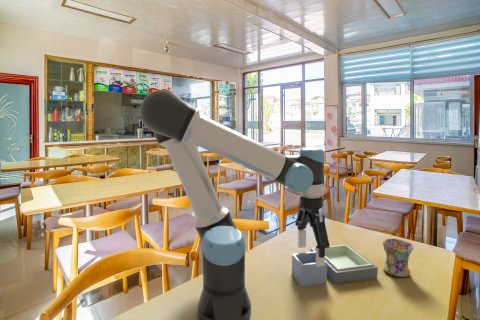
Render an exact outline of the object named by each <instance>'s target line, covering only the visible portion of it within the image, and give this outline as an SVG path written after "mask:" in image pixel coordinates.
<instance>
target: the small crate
mask: <svg viewBox="0 0 480 320" xmlns="http://www.w3.org/2000/svg"><path fill="white" fill-rule="evenodd" d="M291 275H292V276H293V278H295V280H296V282H297V283H298V285H299V286H300V287H308V286H314V285H321V284H322V285H323V284H326V283H327V277H328V275H327V262H326V261H325V266H319V267H316V251H315V252H311V251H307V252H298V253H292V255H291Z"/></svg>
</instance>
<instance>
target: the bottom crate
mask: <svg viewBox="0 0 480 320" xmlns="http://www.w3.org/2000/svg"><path fill="white" fill-rule="evenodd" d="M337 245H338V244H336V245H334V246H337ZM343 245H347V246H348V247H350V248H351V249H352V250H354V251H355V252H356V253H358V254H359V255H360V256H362V257H363V258H364V259H366V260H367V261H368V262H370V263H371V264H372V267H366V268H358V269H351V270H343V271H336V270H335V269H334V268H333V267H332V266H331V265H330V264H329V263H328V262H327V261H326V260H325V261H326V262H327V277H329V279H330V280H331V281H332V282H333V283H334V284H335V285H339V284H346V283H352V282H353V283H354V282H360V281H367V280H374V279H375V280H376V279H377V278H378V273H379V272H378V269H379V268H378V265H376V264H374V263H373V262H372V261H370V260H369V259H368V258H366V256H365V257H364V255H362V254H360V253H359V252H358V251H356V250H355V249H354V248H353V247H351V246H350V245H348V244H346V243H345V244H343ZM315 248H316V247H310V252H315V251H316V250H315Z"/></svg>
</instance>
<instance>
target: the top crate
mask: <svg viewBox="0 0 480 320" xmlns="http://www.w3.org/2000/svg"><path fill="white" fill-rule="evenodd" d="M336 245H337V246H335V245H329V246H330V247H329V248H325V260H326V261H327V262H328V263H329V264H330V265H331V266H332V267H333V268H334V269H335V270H336V271H343V270H351V269H358V268H366V267H372V264H371V263H372V262H371V261H370V262H371V263H370V262H368V261H367V260H368V259H367V258H366V259H367V260H366V259H364V258H363V257H364V256H363V255H362V256H363V257H362V256H360V255H359V254H360V253H359V252H358V253H359V254H358V253H356V252H355V251H356V250H355V249H354V250H355V251H354V250H352V249H351V248H352V247H351V246H350V247H351V248H350V247H348V246H347V245H348V244H347V245H344V244H336ZM314 248H315V250H316V247H314Z"/></svg>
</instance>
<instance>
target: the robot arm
mask: <svg viewBox="0 0 480 320" xmlns="http://www.w3.org/2000/svg"><path fill="white" fill-rule="evenodd" d="M139 113H140V119H141V121H142V123H143V125H144V126H145V127H146V128H147V129H148V130H150V131H151V132H153V135H154V137H155V139H156V141H157V144H158V145H159V146H162V147H164V148H165V150H166V151H167V154H168V156H169V158H170V161H171V162H172V164H173V168H174V170H175V172H176V174H177V176H178V178H179V181H180V183H181V185H182V187H183V190H184V192H185V195H186V197H187V199H188V201H189V203H190V206H191V209H192V210H193V212H194V215H195V217H196V219H195V221H194V224H193V225H194V226H195V229H196V231H197V234H198V236H199V238H200V239H199V240H200V241H201V252H202V253H201V254H202V255H201V256H202V284H203V285H202V286H203V287H202V290H201V293H200V297H199V300H198V303H197V317H198V318H197V319H198V320H250V318H251V315H252V303H251V299H250V297H249V294H248V291H247V288H246V285H245V284H246V276H245V275H246V272H245V271H246V264H245V263H246V262H245V261H246V241H245V237H244V234H243V233H242V231H241V230H239V229H238V227H237V225H236V223H235V221H234V220H233V218H232V215H231V213H230V210H229V209H228V208H227V207H225V206H223V205H222V204H221V202H220V199H219V196H218V194H217V192H216V189H215V187H214V185H213V182H212V181H211V177H210V175H209V173H208V171H207V168H206V166H205V163H204V161H203V158H202V156H201V153H200V152H199V149H198V147H200V148H201V149H204V150H206V151H208V152H211V153H213V154H215V155H218V156H219V157H222V158H223V159H225V160H228V161H230V162H233V163H234V164H237V165H239V166H240V167H243V168H246V169H248V170H249V171H252V172H254V173H256V174H258V175H260V176H263V177H264V179H265V180H267V181H274V182H275V183H277V184H280V185H281V186H283V187H284V186H285V187H286V188H287V189H288V190H290V191H292V192H295V193H299V194H300V195H299V205H298V213H297V215H296V220H295V223H294V225H295V226H297V227H296V228H297V235H298V236H297V237H298V238H297V240H298V241H297V244H298V245H297V248H298V249H301V248H307V225H308V224H309V227H310V228H311V229H312V232H313V235H314V239H315V242H316V246H315V248H316V267H319V266H325V248H329V247H330V246H331V245H330V241H329V236H328V232H327V227H326V217H325V214H322V215H321V214H320V211H319V210H320V209H322V208H323V206H324V196H323V195H324V187H325V185H324V172H325V170H324V169H325V155H324V150H323V149H322V148H319V147H304V148H301V149H300V150H299V153H298V154H296V155H285V154H282V153H280V152H278V151H276V150H274V149H272V148H271V147H268V146H266V145H264V144H262V143H260V142H258V141H255V140H254V139H252V138H249V136H248V137H247V136H246V135H243V134H241V133H240V132H237V131H235V130H234V129H231V128H229V127H227V126H225V125H223V124H221V123H219V122H216V121H214V120H213V119H210V118H209V117H206V116H204V115H202V114H201V113H200V110H199V109H198V108H197V107H195V106H193V105H192V104H189V103H188V102H186V101H184V100H183V99H182V98H181V97H180V96H178V95H177V94H175V93H173V92H171V91H170V90H165V89H158V90H154V91H152V92H149V93H148V94H147V95H146V96H145V97H143V100H142V102H141V104H140V107H139Z"/></svg>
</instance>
